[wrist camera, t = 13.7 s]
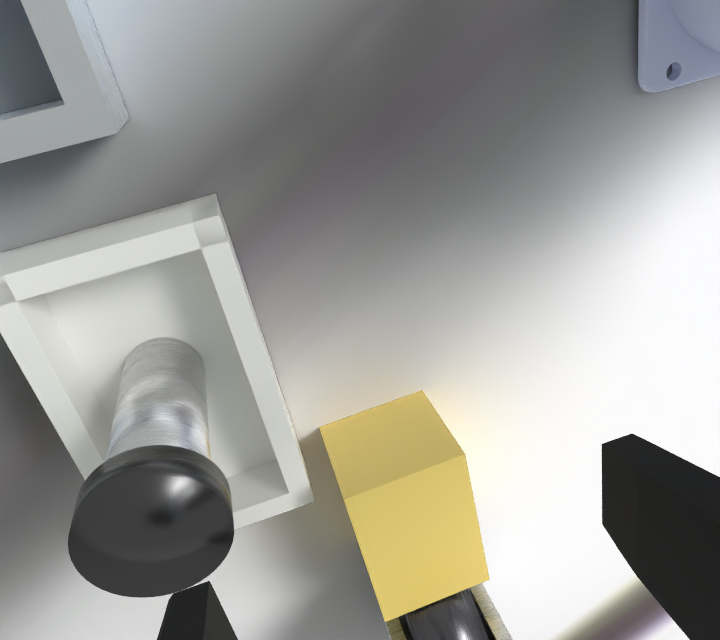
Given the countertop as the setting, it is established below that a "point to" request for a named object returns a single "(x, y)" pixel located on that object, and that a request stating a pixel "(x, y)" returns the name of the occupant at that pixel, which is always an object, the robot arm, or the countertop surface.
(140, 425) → the stop pin
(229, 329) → the tray
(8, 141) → the socket block
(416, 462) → the block
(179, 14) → the countertop surface
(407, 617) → the castor
